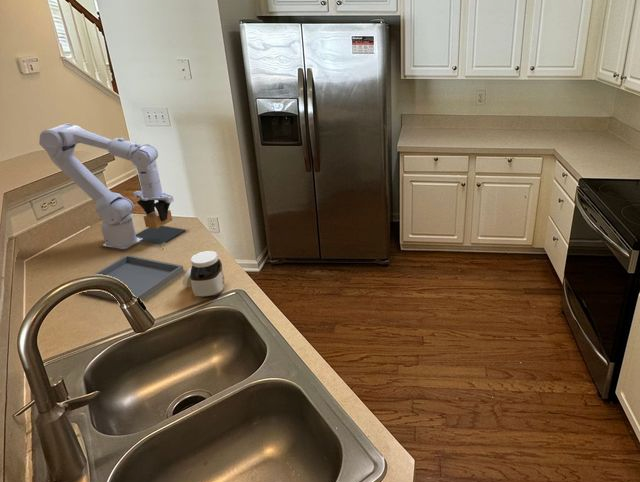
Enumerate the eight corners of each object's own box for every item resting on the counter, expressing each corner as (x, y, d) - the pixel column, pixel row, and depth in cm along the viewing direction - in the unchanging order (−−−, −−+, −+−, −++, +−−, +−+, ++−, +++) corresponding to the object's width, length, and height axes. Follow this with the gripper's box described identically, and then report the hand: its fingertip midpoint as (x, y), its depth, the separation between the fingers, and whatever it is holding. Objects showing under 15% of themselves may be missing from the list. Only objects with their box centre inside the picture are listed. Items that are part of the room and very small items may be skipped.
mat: (128, 240, 152) (127, 238, 152) (154, 226, 163) (154, 224, 163) (160, 246, 149) (160, 244, 149) (185, 231, 160) (185, 229, 159)
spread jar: (220, 300, 121) (214, 265, 117) (177, 304, 119) (169, 268, 115) (229, 277, 132) (224, 244, 128) (190, 280, 130) (183, 246, 126)
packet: (145, 227, 146) (143, 216, 144) (162, 218, 152) (159, 208, 151) (156, 228, 145) (154, 218, 143) (172, 220, 151) (170, 209, 149)
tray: (76, 292, 123) (74, 284, 122) (128, 261, 139) (127, 254, 138) (137, 306, 118) (135, 298, 117) (184, 272, 134) (182, 265, 133)
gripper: (122, 183, 141) (131, 220, 146) (158, 188, 137) (166, 226, 142) (140, 176, 147) (148, 212, 152) (175, 181, 143) (182, 218, 148)
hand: (158, 218), depth 148 cm, fingers closed on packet, 4 cm apart
